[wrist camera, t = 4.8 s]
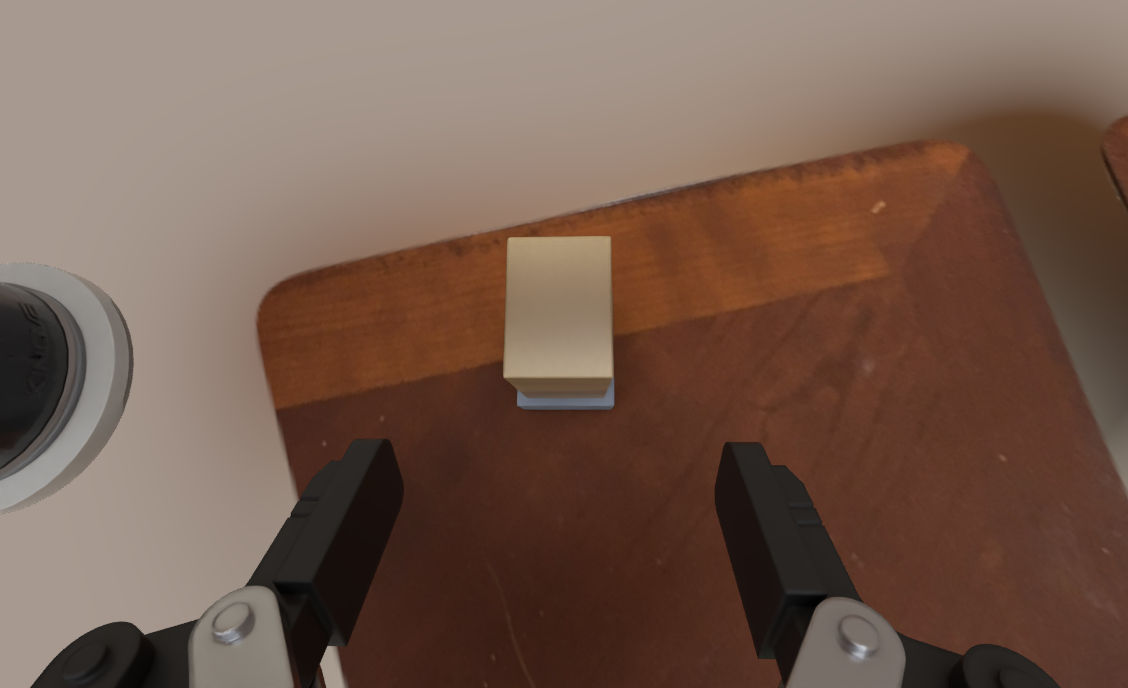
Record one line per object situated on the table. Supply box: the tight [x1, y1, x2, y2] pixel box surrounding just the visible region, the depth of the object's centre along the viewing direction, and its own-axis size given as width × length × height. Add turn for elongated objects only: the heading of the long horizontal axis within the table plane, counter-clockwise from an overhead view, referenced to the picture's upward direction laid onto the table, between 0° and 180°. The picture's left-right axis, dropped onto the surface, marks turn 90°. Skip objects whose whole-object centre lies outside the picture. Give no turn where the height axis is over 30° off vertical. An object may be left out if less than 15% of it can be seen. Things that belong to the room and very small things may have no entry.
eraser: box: [503, 236, 614, 410], centre depth 18 cm, size 5×4×8 cm
